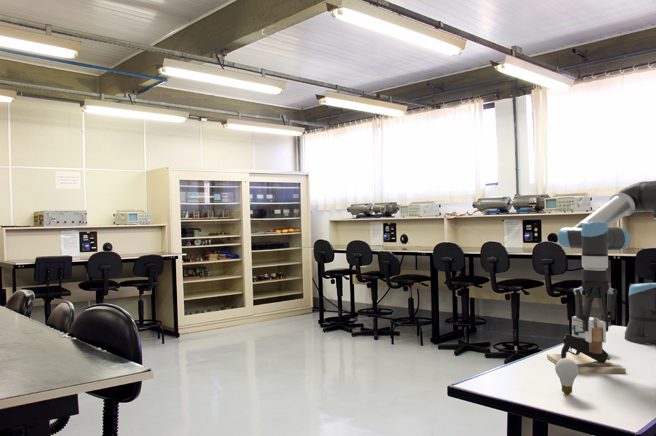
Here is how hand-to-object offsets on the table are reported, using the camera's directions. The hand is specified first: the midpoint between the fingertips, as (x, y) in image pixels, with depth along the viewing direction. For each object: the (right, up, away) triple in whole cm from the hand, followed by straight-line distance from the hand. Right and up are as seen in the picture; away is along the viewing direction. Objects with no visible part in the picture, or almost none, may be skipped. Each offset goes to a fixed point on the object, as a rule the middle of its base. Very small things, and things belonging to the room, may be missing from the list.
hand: (595, 341), depth 161 cm
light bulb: (-20, -10, -22) cm, 31 cm away
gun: (-1, -8, +5) cm, 9 cm away
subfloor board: (-1, -10, +6) cm, 11 cm away
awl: (0, -3, 0) cm, 3 cm away
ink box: (+11, -10, +28) cm, 32 cm away
